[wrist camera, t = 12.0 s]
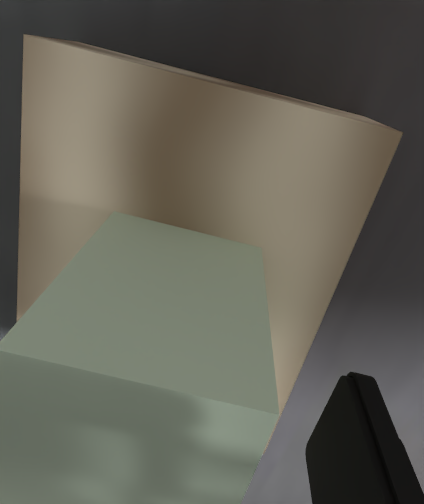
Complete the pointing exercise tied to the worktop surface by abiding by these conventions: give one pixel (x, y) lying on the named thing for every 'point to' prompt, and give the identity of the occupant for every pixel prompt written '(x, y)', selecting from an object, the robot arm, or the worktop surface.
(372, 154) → the riser block
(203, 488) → the block
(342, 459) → the robot arm
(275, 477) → the worktop surface
